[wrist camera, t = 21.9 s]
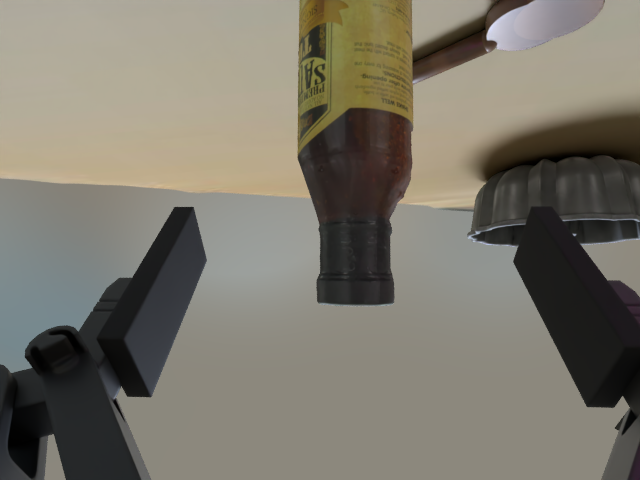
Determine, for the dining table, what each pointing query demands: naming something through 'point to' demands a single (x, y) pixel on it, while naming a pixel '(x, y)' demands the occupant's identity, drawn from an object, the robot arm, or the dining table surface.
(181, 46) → the dining table surface
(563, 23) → the wooden spoon
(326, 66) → the sauce bottle
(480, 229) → the bundt pan
